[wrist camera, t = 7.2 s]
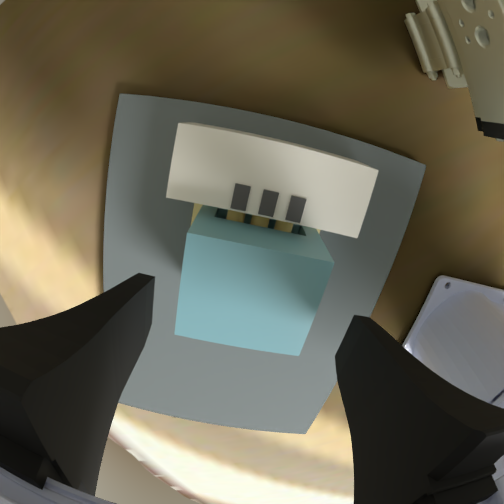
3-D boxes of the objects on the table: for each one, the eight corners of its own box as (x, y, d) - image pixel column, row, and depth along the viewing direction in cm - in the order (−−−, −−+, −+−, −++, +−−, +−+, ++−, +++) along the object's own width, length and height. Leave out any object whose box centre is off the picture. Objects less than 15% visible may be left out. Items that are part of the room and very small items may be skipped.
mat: (419, 162, 15) (427, 165, 14) (304, 426, 24) (305, 434, 23) (125, 94, 14) (118, 93, 13) (115, 394, 22) (112, 401, 21)
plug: (312, 223, 16) (334, 262, 11) (288, 300, 17) (299, 356, 13) (205, 200, 15) (187, 232, 11) (192, 282, 17) (174, 334, 13)
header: (356, 160, 14) (379, 170, 12) (322, 269, 17) (335, 299, 14) (192, 122, 14) (177, 122, 11) (173, 239, 16) (157, 265, 13)
